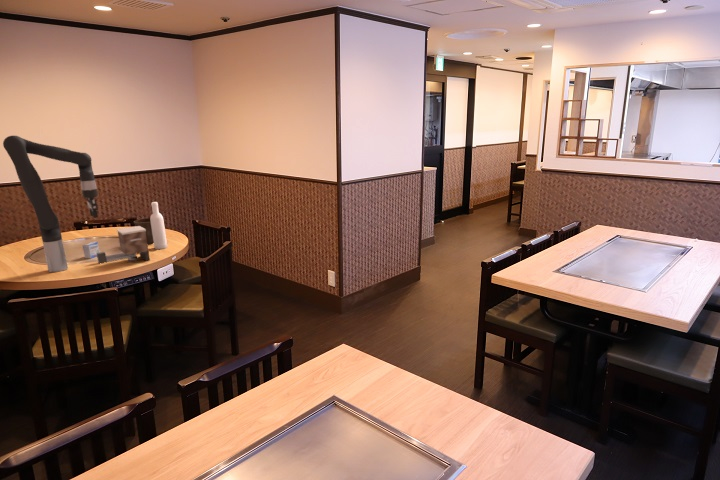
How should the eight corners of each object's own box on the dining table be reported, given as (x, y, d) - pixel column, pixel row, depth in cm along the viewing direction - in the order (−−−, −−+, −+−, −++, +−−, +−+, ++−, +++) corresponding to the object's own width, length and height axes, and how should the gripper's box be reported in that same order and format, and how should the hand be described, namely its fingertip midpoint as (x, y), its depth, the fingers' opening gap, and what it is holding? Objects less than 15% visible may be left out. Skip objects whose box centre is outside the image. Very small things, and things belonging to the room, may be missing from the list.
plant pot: (141, 247, 308) (137, 223, 304) (134, 243, 319) (130, 220, 315) (164, 242, 317) (161, 219, 313) (157, 239, 328) (153, 216, 324)
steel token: (129, 261, 276) (129, 258, 276) (127, 260, 280) (127, 257, 280) (138, 260, 279) (138, 256, 279) (136, 258, 283) (136, 255, 283)
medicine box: (91, 258, 285) (88, 245, 283) (84, 258, 286) (82, 244, 284) (100, 255, 293) (98, 241, 291) (94, 255, 294) (91, 241, 292)
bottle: (169, 247, 305) (163, 201, 297) (157, 250, 299) (150, 203, 292) (164, 245, 310) (157, 200, 303) (152, 248, 305) (145, 202, 297)
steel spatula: (99, 263, 274) (97, 254, 273) (98, 262, 276) (96, 253, 275) (136, 256, 286) (135, 247, 285) (135, 255, 289) (133, 246, 287)
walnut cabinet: (127, 265, 269) (122, 233, 264) (121, 260, 279) (116, 229, 275) (150, 260, 276) (146, 229, 271) (144, 256, 287) (139, 225, 282)
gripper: (79, 188, 269) (84, 215, 273) (83, 190, 258) (89, 219, 262) (94, 186, 273) (98, 214, 277) (99, 188, 262) (104, 217, 266)
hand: (94, 216), depth 269 cm, fingers open, 8 cm apart
